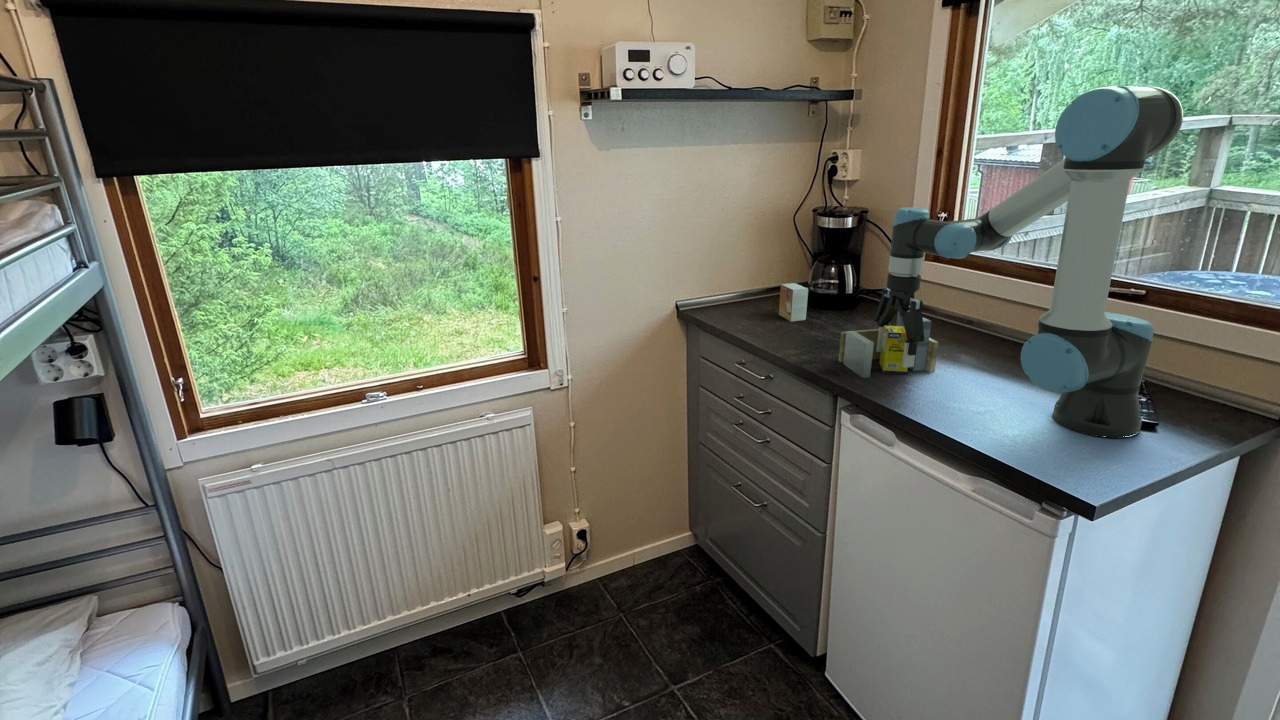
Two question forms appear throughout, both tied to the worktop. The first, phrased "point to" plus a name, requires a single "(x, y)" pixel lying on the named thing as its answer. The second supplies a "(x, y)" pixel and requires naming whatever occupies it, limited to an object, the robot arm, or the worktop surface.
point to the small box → (793, 302)
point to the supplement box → (893, 350)
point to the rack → (924, 351)
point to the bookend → (858, 353)
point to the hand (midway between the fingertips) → (894, 358)
